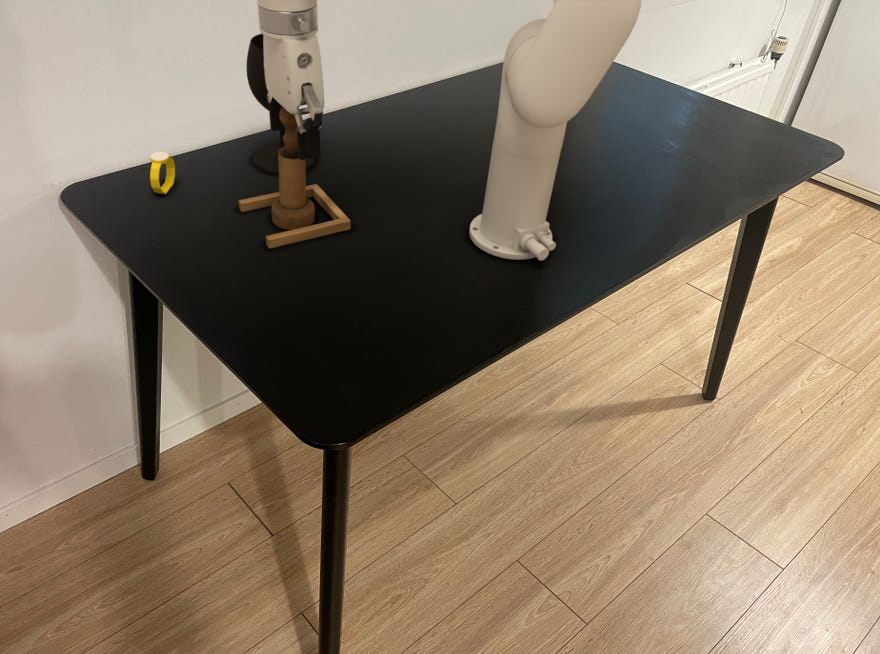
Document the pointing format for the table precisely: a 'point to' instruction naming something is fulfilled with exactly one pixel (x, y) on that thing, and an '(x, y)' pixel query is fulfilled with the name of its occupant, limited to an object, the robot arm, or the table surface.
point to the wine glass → (264, 105)
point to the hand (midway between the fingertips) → (294, 142)
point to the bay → (304, 233)
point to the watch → (156, 161)
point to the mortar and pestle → (291, 182)
